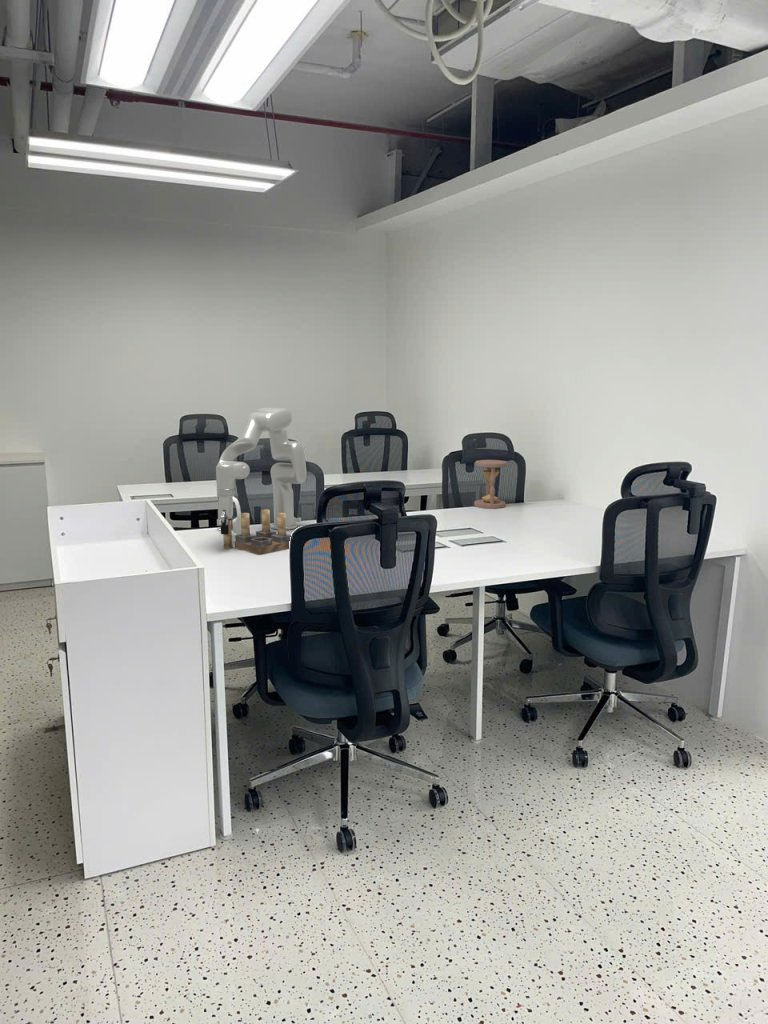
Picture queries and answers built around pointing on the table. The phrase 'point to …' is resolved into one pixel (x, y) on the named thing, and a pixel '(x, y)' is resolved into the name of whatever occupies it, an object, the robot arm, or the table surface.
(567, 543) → the table surface
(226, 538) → the oak leg
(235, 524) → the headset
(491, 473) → the hourglass
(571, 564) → the table surface
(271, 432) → the robot arm
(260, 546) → the stool
